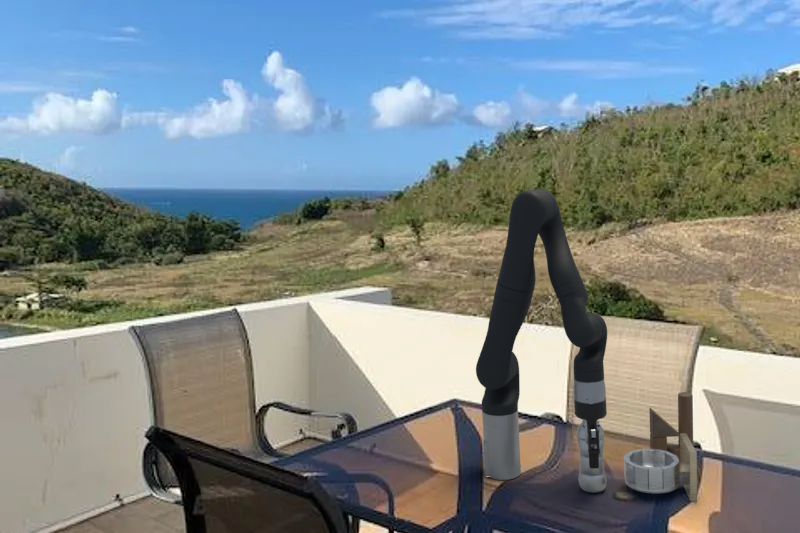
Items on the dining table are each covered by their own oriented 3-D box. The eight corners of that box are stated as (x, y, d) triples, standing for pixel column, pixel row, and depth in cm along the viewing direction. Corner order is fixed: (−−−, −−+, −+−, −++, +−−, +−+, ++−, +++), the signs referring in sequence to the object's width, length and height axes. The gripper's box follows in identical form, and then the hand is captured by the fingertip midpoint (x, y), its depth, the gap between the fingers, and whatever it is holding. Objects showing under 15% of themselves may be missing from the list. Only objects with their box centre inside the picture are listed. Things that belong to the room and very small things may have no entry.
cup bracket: (628, 501, 187) (627, 453, 185) (622, 479, 199) (621, 433, 197) (697, 501, 184) (696, 452, 183) (686, 479, 197) (686, 433, 195)
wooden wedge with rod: (650, 458, 210) (648, 393, 208) (691, 456, 210) (690, 391, 207) (653, 464, 207) (652, 397, 204) (695, 462, 206) (695, 395, 203)
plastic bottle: (607, 496, 190) (605, 416, 187) (578, 495, 192) (575, 416, 189) (606, 484, 197) (603, 407, 194) (578, 484, 198) (575, 407, 195)
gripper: (572, 387, 198) (574, 449, 201) (575, 407, 184) (578, 473, 187) (602, 387, 197) (605, 449, 199) (609, 406, 183) (611, 472, 186)
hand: (592, 460), depth 193 cm, fingers open, 8 cm apart
